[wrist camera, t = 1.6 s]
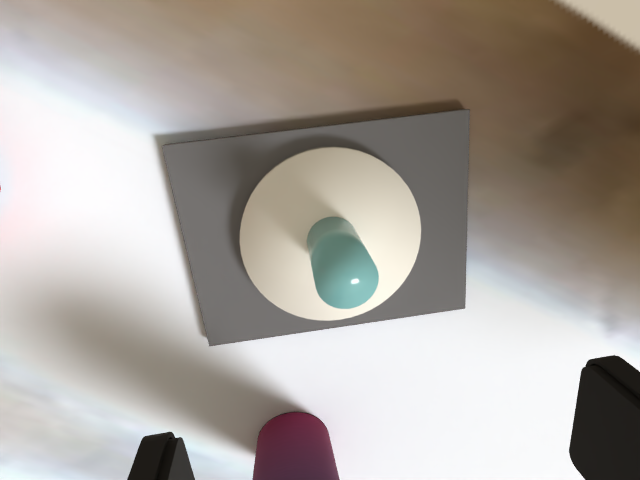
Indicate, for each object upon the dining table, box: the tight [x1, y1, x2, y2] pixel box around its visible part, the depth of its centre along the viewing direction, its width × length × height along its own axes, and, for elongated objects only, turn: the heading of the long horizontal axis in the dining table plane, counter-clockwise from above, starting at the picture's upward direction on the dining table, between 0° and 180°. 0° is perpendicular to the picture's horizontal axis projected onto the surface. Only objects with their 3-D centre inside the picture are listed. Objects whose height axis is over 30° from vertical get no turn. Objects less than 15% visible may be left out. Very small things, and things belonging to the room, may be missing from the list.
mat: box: [162, 109, 470, 346], centre depth 23 cm, size 16×12×1 cm
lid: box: [240, 146, 421, 321], centre depth 20 cm, size 10×10×6 cm
